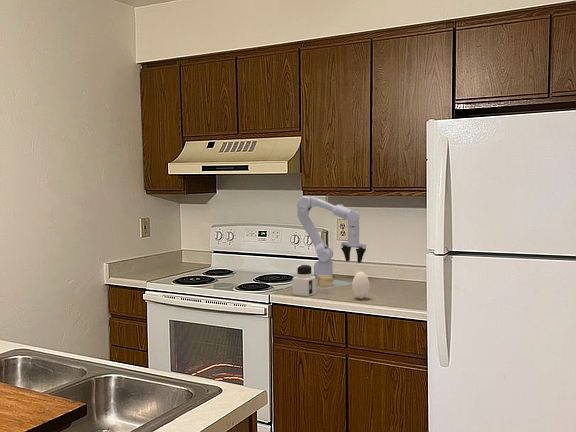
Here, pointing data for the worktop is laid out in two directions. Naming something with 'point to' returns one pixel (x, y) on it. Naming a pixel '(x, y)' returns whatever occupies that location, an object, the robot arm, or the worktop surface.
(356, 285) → the egg
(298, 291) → the container
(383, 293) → the worktop surface
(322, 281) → the oak block
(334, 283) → the board
